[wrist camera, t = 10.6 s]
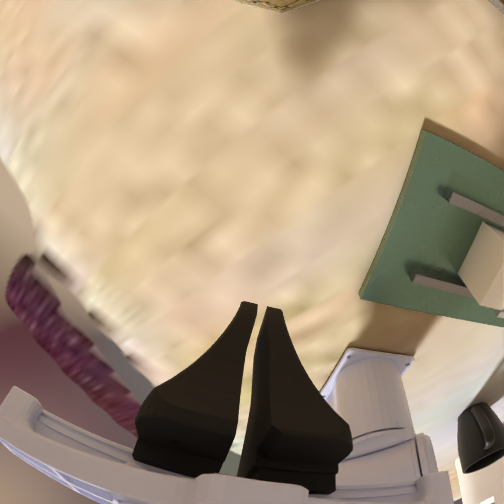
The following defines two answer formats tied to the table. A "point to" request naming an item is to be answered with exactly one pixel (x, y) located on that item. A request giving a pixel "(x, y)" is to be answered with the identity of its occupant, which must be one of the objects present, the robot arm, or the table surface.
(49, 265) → the table surface
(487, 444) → the mug
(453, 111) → the table surface
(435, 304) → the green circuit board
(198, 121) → the table surface
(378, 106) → the table surface
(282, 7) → the ceramic cup
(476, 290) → the block
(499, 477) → the cylinder
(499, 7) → the coffee maker
